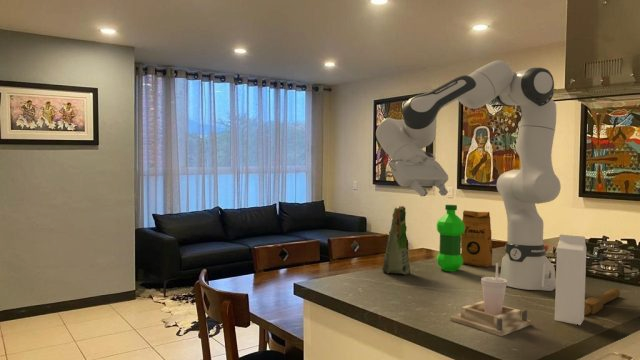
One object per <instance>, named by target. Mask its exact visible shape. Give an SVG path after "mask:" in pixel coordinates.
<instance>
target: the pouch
mask: <svg viewBox="0 0 640 360" xmlns="http://www.w3.org/2000/svg"><path fill="white" fill-rule="evenodd" d="M406 214H407V212H406V207H405V206H404V205H403V206H402V205H399V207H398V208H397V207H395V208H394V210H393V213H392V219H391V225H390V230H389V232H388V238H387V242H386V248H385V254H384V259H383V263H382V268H381V271H383V272H384V273H385V272H386V274H389V273H390V274H399V275H403V276H407V275H409V274H410V273H411V269H410V268H411V266H410V261H409V260H410V258H409V257H410V256H409V251H408V249H407V241H408V237H407V223H406Z"/></svg>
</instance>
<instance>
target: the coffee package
mask: <svg viewBox="0 0 640 360" xmlns="http://www.w3.org/2000/svg"><path fill="white" fill-rule="evenodd" d="M461 220H462V221H463V222H464V225H465V230H464V233H463V234H462V235H461V256H462V258H463V264H465V265H469V266H476V267H485V268H489V267H491V266H493V248H492V245H493V244H492V227H491V215H490V212H489V211H476V210H475V211H474V210H473V211H472V210H466V209H465V210H463V212H462V219H461Z"/></svg>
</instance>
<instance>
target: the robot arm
mask: <svg viewBox="0 0 640 360" xmlns="http://www.w3.org/2000/svg"><path fill="white" fill-rule="evenodd" d="M554 88H555V81H554V77H553V74H552V73H551V71H550V70H548V69H547V68H545V67H544V68H543V67H531V68H529V69H522V70H518V71H516V72H515V71H513V68H512V67H511V65H510V64H509V63H508V62H506V61H505V60H500V59H499V60H494V61H491V62H489V63H487V64H484V65H483V66H481V67H478V68H477V69H476V70H474V71H473V72H471V73H469V74H467V75H459V76H457V77H454V78H453V79H450V80H449V81H447V82H445V83H443V84H442V85H440V86H438V87H436V88H433V89H431V90H430V91H427V92H425V93H422V94H418V95H415V96H413V97H410V98H409V99H408V100H406V102H404V105H402V110H401V111H402V112H401V113H402V118H403V119H394V118H392V117H387V118H385V119H383V120H382V121H381V122H380V123H379V124H378V126H377V128H376V131H375V137H376V139H377V142H378V143H379V145H380V146H381V148H382V150H383V151H384V152H385V154H386V155H388V156H389V157H390V160H389V161H388V166H389V167H390V171H391V174H392V176H393V177H394V179H395V181H396V183H397V184H398V185H399V186H400V187H406V188H407V187H410V188H411V189H412V190H413V191H414V192H416V193H418V195H419V196H420V197H426V196H427V195H428V194H429V193H428V190H427V189H426V188H425V187H436V188H437V189H438V190H439V191H438V193H439V194H440V196H442V197H445V196H447V195H448V193H449V191H448V189H447V188H446V185H445V184H446V183H447V182H448V181H449V175H448V174H447V171H445V169H444V168H443V167H442V165H441V164H440V163H439V162H438V161H437V160H436V157H435V155H434V153H431V152H428V151H425V150H423V149H425V148H427V147H428V146H430V145H432V144H433V142H434V141H435V139H436V134H437V132H436V131H437V117H438V115H439V112H440V111H441V110H442V109H443V108H445V107H446V106H448V105H449V106H450V104H452V103H453V102H455V101H457V100H458V102H459V103H460V104H462V105H463V106H464V107H466V108H468V109H472V110H477V109H480V108H482V107H484V106H486V105H487V104H489V103H490V102H492V101H494V100H495V101H496V102H497V103H498V104H499V105H501V106H505V107H516V106H520V107H519V108H520V111H521V119H520V122H519V128H518V131H517V132H518V133H517V138H516V141H515V142H516V143H515V152H516V153H517V155H518V157H519V160H520V168H519V169H511V170H508V171H505V172H503V173H502V174H500V175H499V177H498V178H497V180H496V190H497V192H498V194H499V195H500V196H501V198H502V201H503V204H504V209H505V212H506V213H505V214H506V218H507V219H506V221H507V226H506V227H507V228H506V229H507V235H506V237H507V238H506V239H507V240H506V242H505V246H504V248H505V251H504V252H505V255H504V256H503V257H502V259H501V268H500V275H498V278H502V279H505V280H507V281H508V282H507V284H508V285H507V286H506V287H510V288H515V289H520V290H528V291H530V290H531V291H533V290H534V291H547V292H548V291H549V292H551V291H554V290H556V270H555V269H556V267H555V265H553V263H552V262H551V261H550V260H549V259H548V257H547V256H546V255H547V254H546V251H549V248H550V247H549V244H544V220H543V218H542V216H541V215H540V214H539V212H538V209H537V206H536V204H545V203H549V202H552V201H554V200H556V199H557V198H558V196H559V195H560V193H561V187H562V186H561V181H560V179H559V177H558V176H557V175H556V174H555V171H554V167H553V162H552V158H553V157H552V152H553V151H552V150H553V146H554V145H553V144H554V138H555V131H556V126H557V104H556V102H555V101H554V99H552V98H553V96H554V90H555V89H554Z"/></svg>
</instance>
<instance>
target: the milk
mask: <svg viewBox="0 0 640 360" xmlns="http://www.w3.org/2000/svg"><path fill="white" fill-rule="evenodd" d="M558 239H559V241H558V243H557V246H556V261H555V263H556V265H555V266H556V267H555V269H556V270H555V278H556V288H555V294H554V295H555V298H554V299H555V300H554V321H557V322H560V323H561V322H562V323H568V324H572V325H577V324H578V326H581V325H582V324H583V322H584V320H585V315H584V304H585V300H586V299H585V298H586V297H585V296H586V274H587V273H586V270H587V266H586V265H587V245H586V237H585V236H580V235H572V234H571V235H569V234H559V237H558Z"/></svg>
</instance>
